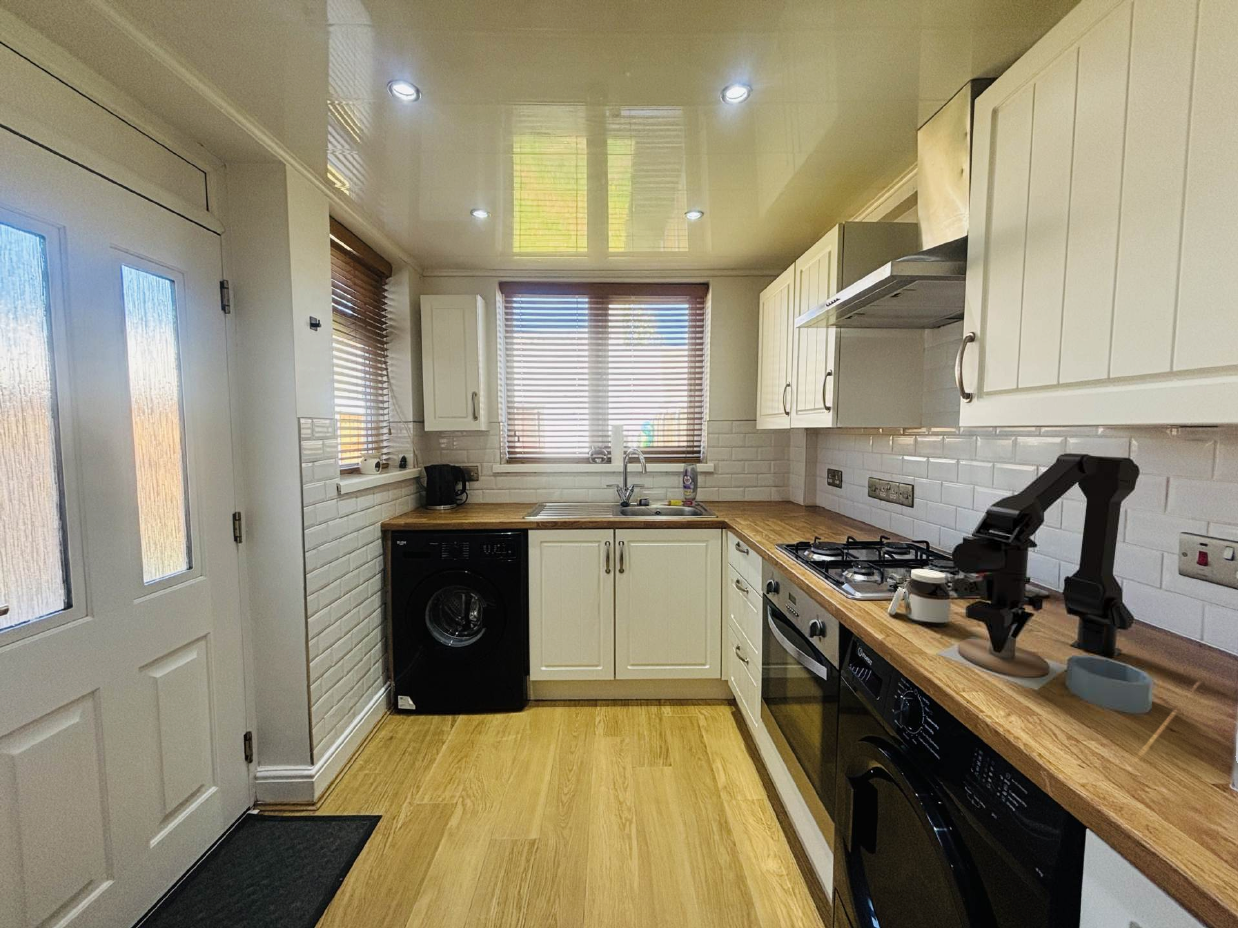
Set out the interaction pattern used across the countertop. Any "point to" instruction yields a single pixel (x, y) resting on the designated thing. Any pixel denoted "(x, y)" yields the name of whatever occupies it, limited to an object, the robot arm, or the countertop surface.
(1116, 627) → the robot arm
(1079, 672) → the bowl
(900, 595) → the spread jar
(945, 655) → the mat
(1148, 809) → the countertop surface
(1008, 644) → the lid
